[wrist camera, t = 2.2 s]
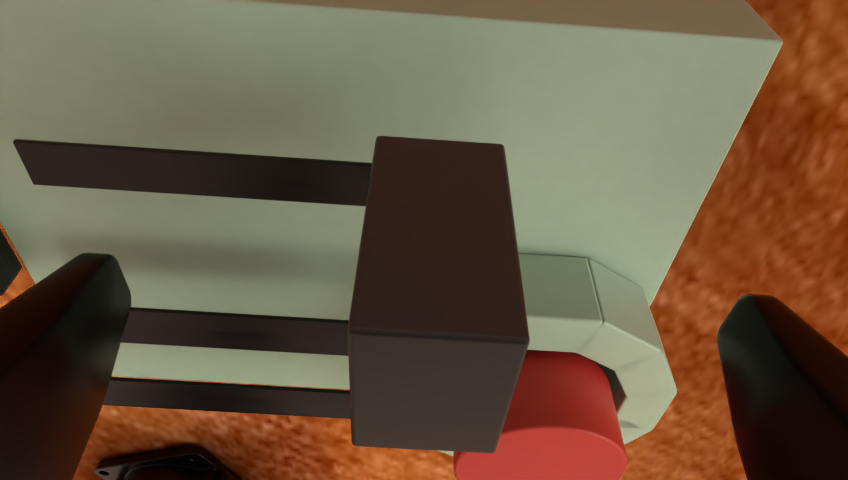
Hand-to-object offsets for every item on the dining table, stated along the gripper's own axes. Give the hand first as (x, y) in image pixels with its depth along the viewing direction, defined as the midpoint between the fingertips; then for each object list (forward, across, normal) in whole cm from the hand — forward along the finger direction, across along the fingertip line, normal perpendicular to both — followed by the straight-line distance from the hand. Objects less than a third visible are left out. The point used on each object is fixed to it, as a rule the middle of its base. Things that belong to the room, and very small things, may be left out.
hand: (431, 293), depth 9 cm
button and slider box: (+8, +2, +4) cm, 9 cm away
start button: (+3, -3, +7) cm, 8 cm away
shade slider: (+2, 0, 0) cm, 2 cm away
